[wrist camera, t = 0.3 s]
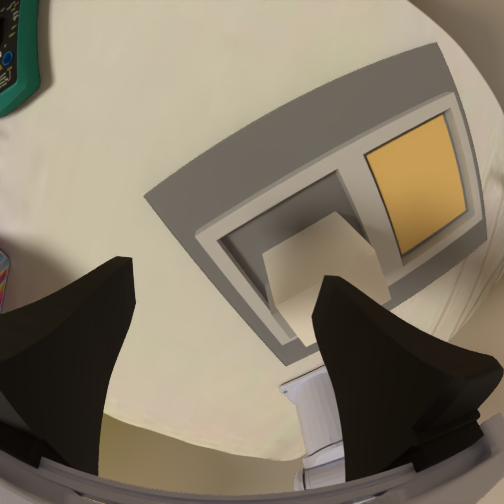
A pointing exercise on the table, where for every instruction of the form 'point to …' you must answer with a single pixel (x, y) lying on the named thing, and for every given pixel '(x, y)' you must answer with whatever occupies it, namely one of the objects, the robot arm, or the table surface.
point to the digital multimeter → (18, 53)
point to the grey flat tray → (336, 185)
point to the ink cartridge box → (3, 275)
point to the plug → (318, 272)
